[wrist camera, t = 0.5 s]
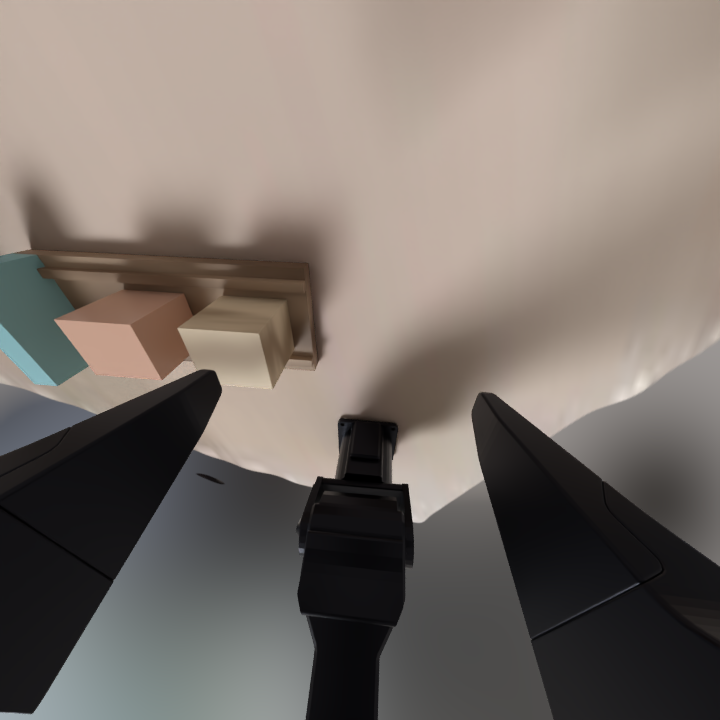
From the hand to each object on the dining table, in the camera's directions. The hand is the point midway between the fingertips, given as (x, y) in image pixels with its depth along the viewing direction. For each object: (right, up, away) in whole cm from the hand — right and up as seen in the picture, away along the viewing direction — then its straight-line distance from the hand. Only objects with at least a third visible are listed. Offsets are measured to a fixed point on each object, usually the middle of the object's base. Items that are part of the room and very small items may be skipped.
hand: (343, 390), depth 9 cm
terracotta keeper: (-15, +5, +12) cm, 20 cm away
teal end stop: (-24, +5, +13) cm, 28 cm away
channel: (-14, +5, +13) cm, 20 cm away
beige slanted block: (-7, +4, +12) cm, 14 cm away
